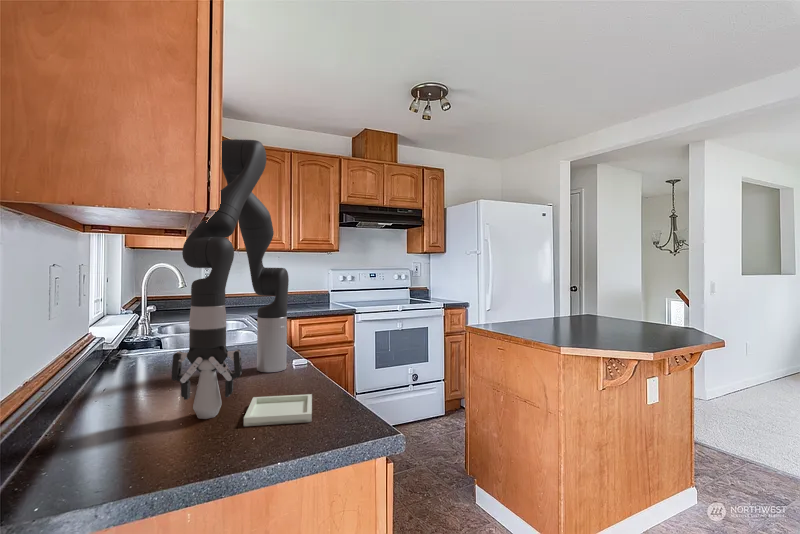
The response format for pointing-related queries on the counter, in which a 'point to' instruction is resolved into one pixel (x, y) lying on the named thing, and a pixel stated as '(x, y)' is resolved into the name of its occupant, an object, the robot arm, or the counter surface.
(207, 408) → the salt shaker
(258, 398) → the tray
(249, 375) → the counter surface
